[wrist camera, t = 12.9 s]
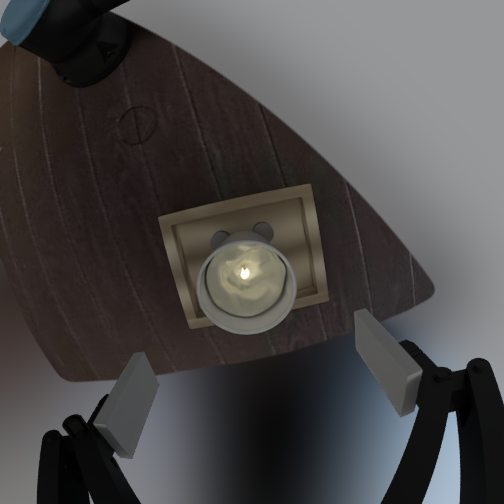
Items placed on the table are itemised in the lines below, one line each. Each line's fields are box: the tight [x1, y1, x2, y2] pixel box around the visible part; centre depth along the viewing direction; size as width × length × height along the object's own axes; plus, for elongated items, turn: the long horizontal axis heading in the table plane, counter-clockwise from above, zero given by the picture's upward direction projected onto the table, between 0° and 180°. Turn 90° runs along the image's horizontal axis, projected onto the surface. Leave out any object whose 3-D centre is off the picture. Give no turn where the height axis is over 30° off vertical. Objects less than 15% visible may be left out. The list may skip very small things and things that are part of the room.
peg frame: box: [158, 184, 329, 329], centre depth 40 cm, size 17×21×4 cm
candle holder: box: [196, 231, 297, 334], centre depth 32 cm, size 10×10×12 cm
